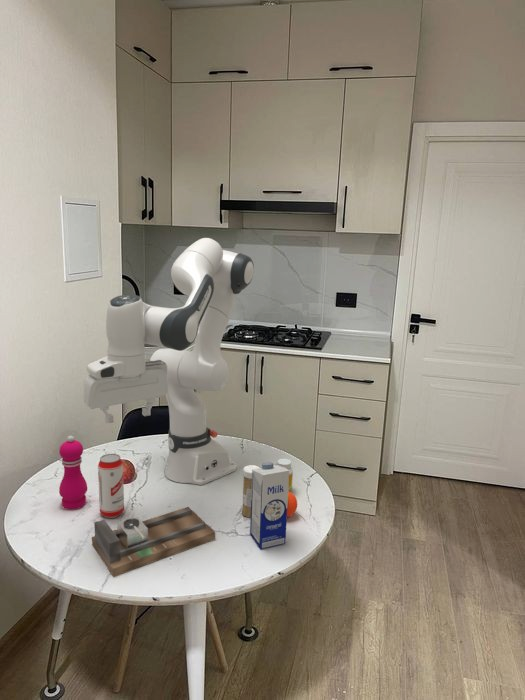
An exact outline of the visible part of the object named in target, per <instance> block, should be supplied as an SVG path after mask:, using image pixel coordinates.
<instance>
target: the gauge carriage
mask: <svg viewBox="0 0 525 700" xmlns="http://www.w3.org/2000/svg"><path fill="white" fill-rule="evenodd" d="M142 521H143V520H141V519H140V517H138V516H137V517H133V518H127V519H126V520H124V521H121V522H117V529H118V538H119V539H120V541H121V542H122V543H123V545H124V546H125V547H126V548H129V547H132V546H135V545H138V544H141V543H144V542H147V541H148V528H147V527H146V526H145V525H144V523H143V522H142Z"/></svg>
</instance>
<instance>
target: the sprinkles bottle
mask: <svg viewBox="0 0 525 700" xmlns="http://www.w3.org/2000/svg"><path fill="white" fill-rule="evenodd" d="M259 468H260V467H259V466H258V465H255V464H254V465H252V464H250V465H246V466H244V467H243V469H242V470H243V471H242V472H243V474H242V475H243V487H242V510H241V515H243V516H244V517H245V518H251V493H252V469H259Z"/></svg>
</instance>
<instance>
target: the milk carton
mask: <svg viewBox="0 0 525 700" xmlns="http://www.w3.org/2000/svg"><path fill="white" fill-rule="evenodd" d="M289 471H290V470H288V469H287V468H284V467H281V466H278V465H277V464H276V465H274V463H273V462H266V463H262V464H261V468H260V467H259V469H252V493H251V517H250V524H249V525H250V527H249V535H250V537H251V539H253V541H254V542H255V544H256V545H257V547H258V548H259V550H264V549H269V548H273V547H277V546H282V545H286V542H287V541H286V540H287V537H286V536H287V535H286V534H287V522H288V521H287V520H288V517H287V504H288V485H289Z"/></svg>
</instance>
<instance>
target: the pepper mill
mask: <svg viewBox="0 0 525 700" xmlns="http://www.w3.org/2000/svg"><path fill="white" fill-rule="evenodd" d="M83 453H84V447H83V444H82V442H80V441H78V440H75V437H74V436H73V435H68V436H67V438H66V441H64V442H63V443H61V445H60V447H59V453H58V454H59V455H60V458H62V459H61V464H62V466H63V469H64V470H63V471H64V472H63V476H62V479H61V481H60V484H59V489H58V490H59V491H58V492H59V495H60V497H61V507H62V508H63V509H65V510H77V509H80V508H82V507H84V506H85V505H86V503H87V496H86V493H87V492H88V483H87V480H86V479H85V477H84V476H83V473H82V469H81V464H82V461H83V460H82V458H83V457H82V455H83Z"/></svg>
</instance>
